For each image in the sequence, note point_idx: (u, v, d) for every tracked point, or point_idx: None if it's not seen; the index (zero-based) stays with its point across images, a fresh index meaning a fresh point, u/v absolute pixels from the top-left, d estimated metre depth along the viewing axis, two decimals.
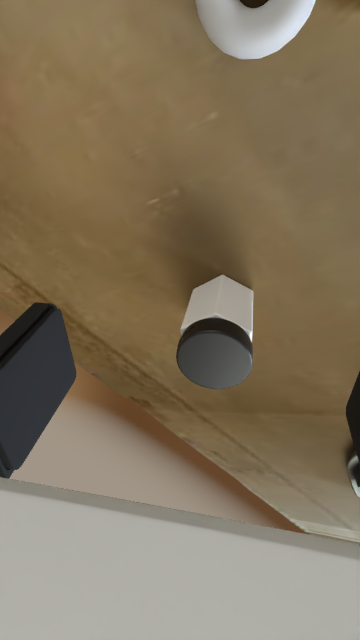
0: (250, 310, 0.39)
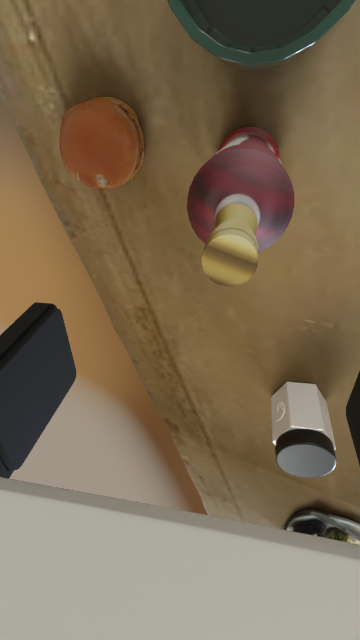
0: (330, 425, 0.52)
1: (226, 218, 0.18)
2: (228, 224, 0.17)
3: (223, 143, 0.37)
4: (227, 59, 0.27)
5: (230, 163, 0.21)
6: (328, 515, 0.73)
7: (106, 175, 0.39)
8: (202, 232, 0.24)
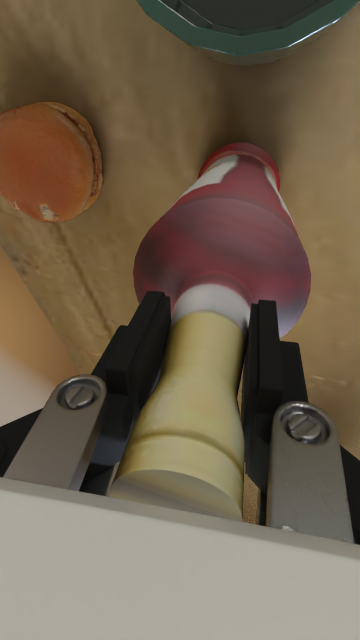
0: None
1: (180, 361, 0.09)
2: (175, 407, 0.07)
3: (205, 164, 0.27)
4: (202, 46, 0.17)
5: (198, 225, 0.12)
6: None
7: (51, 205, 0.29)
8: None
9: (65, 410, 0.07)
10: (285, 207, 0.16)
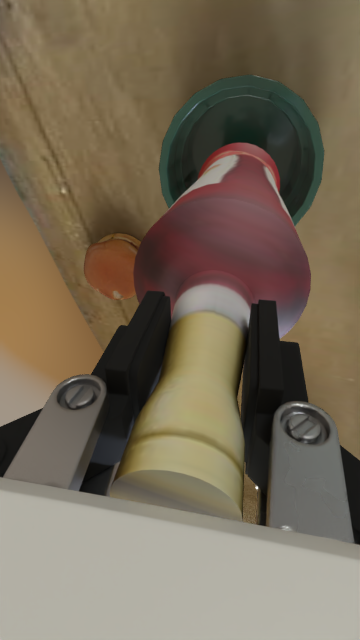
0: None
1: (180, 361, 0.09)
2: (175, 407, 0.07)
3: (205, 164, 0.27)
4: None
5: (198, 225, 0.12)
6: None
7: (120, 291, 0.49)
8: None
9: (65, 410, 0.07)
10: (285, 207, 0.16)
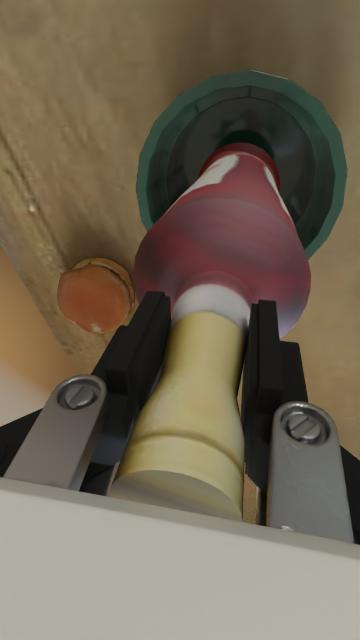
0: None
1: (180, 361, 0.09)
2: (175, 408, 0.07)
3: (205, 164, 0.27)
4: None
5: (198, 225, 0.12)
6: None
7: (100, 324, 0.42)
8: None
9: (65, 410, 0.07)
10: (285, 207, 0.16)
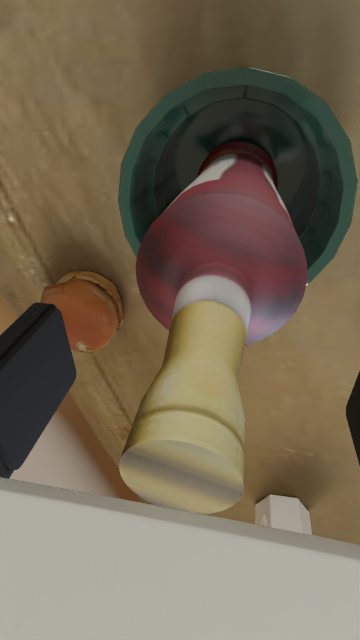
0: None
1: (183, 345, 0.09)
2: (179, 386, 0.08)
3: (204, 163, 0.28)
4: None
5: (199, 219, 0.13)
6: None
7: (86, 343, 0.39)
8: (162, 318, 0.15)
9: None
10: (282, 203, 0.17)
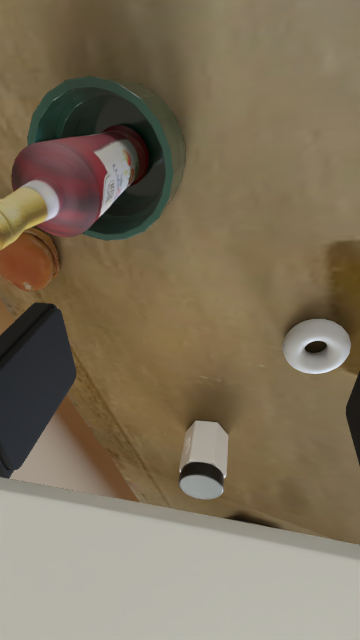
0: (226, 456, 0.66)
1: None
2: None
3: None
4: (91, 236, 0.40)
5: (33, 155, 0.25)
6: None
7: (30, 282, 0.52)
8: None
9: None
10: (102, 154, 0.29)
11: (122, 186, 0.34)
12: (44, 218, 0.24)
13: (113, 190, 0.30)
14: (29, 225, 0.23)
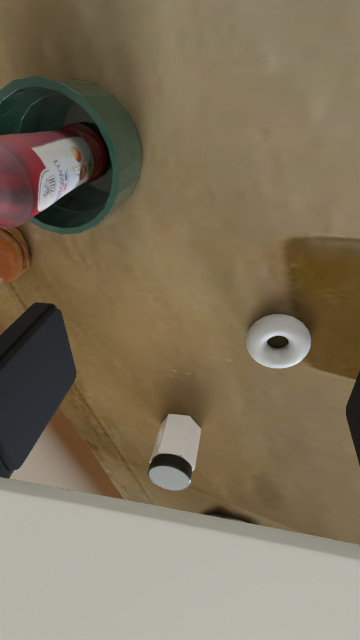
0: (197, 449, 0.67)
1: None
2: None
3: None
4: (48, 230, 0.42)
5: None
6: (226, 518, 0.88)
7: (0, 275, 0.54)
8: None
9: None
10: (42, 150, 0.31)
11: (69, 181, 0.35)
12: None
13: (54, 184, 0.32)
14: None
